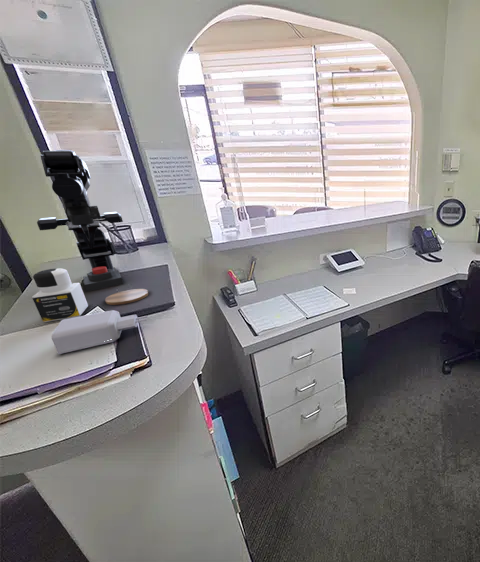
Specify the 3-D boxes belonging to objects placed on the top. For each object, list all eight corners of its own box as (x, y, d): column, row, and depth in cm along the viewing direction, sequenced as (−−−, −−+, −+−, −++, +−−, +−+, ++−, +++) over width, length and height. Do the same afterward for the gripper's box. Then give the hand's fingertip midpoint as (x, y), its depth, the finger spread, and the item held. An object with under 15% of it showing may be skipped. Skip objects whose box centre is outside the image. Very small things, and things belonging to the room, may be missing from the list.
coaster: (104, 297, 90) (103, 295, 90) (145, 288, 97) (144, 286, 96) (107, 308, 83) (106, 305, 83) (151, 297, 90) (150, 295, 89)
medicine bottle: (42, 323, 76) (22, 277, 71) (54, 311, 82) (36, 268, 77) (80, 316, 79) (62, 272, 75) (89, 306, 85) (73, 264, 80)
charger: (148, 335, 70) (59, 356, 62) (150, 319, 77) (70, 336, 70) (142, 317, 68) (49, 336, 61) (145, 302, 75) (63, 317, 68)
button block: (85, 283, 102) (81, 271, 100) (119, 276, 107) (116, 265, 106) (86, 291, 95) (82, 279, 93) (123, 283, 100) (119, 272, 99)
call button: (93, 273, 100) (91, 268, 99) (107, 270, 102) (105, 265, 101) (93, 275, 97) (91, 270, 97) (108, 273, 100) (106, 268, 99)
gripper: (25, 201, 80) (49, 259, 85) (116, 196, 92) (132, 247, 97) (29, 198, 87) (50, 251, 93) (113, 193, 99) (127, 241, 105)
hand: (91, 248), depth 97 cm, fingers closed
